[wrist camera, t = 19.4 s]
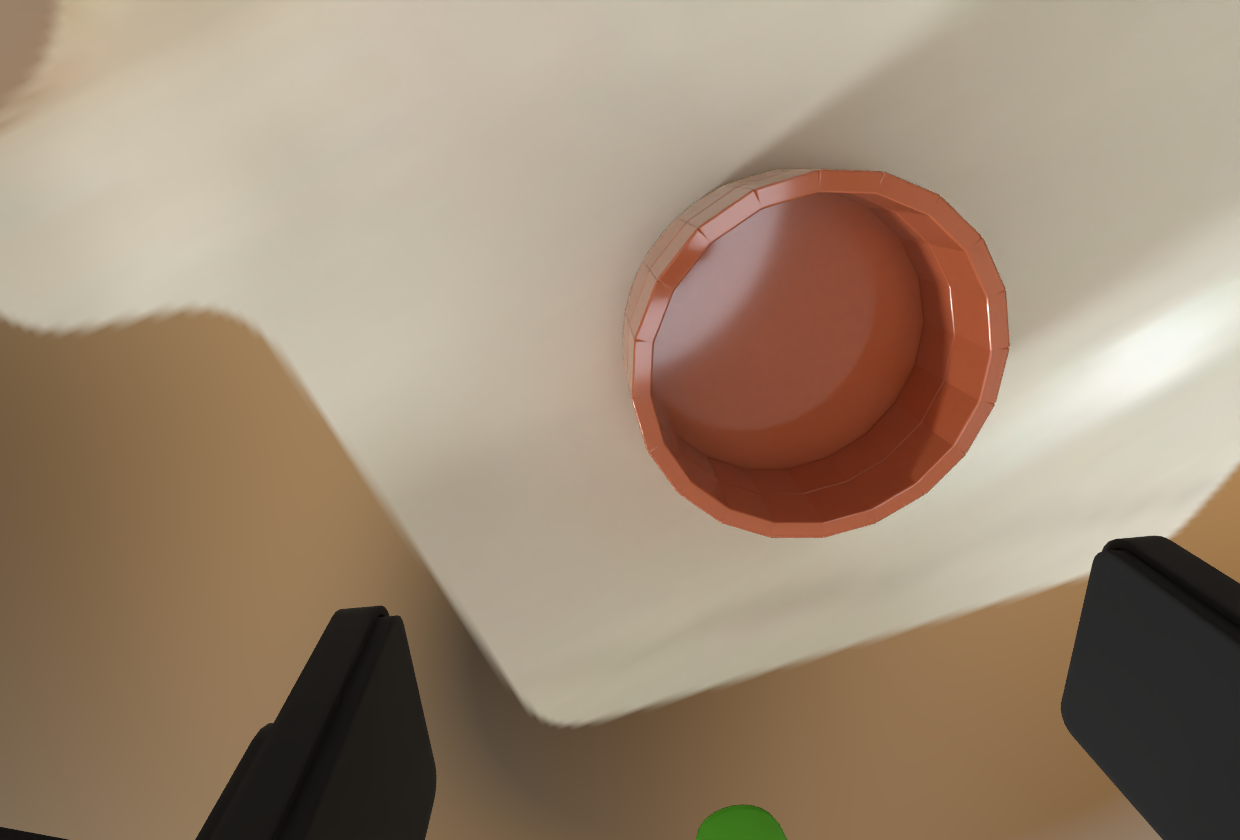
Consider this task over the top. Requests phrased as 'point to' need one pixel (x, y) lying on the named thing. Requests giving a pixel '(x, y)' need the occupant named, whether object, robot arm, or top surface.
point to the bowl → (814, 348)
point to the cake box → (23, 835)
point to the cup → (740, 825)
